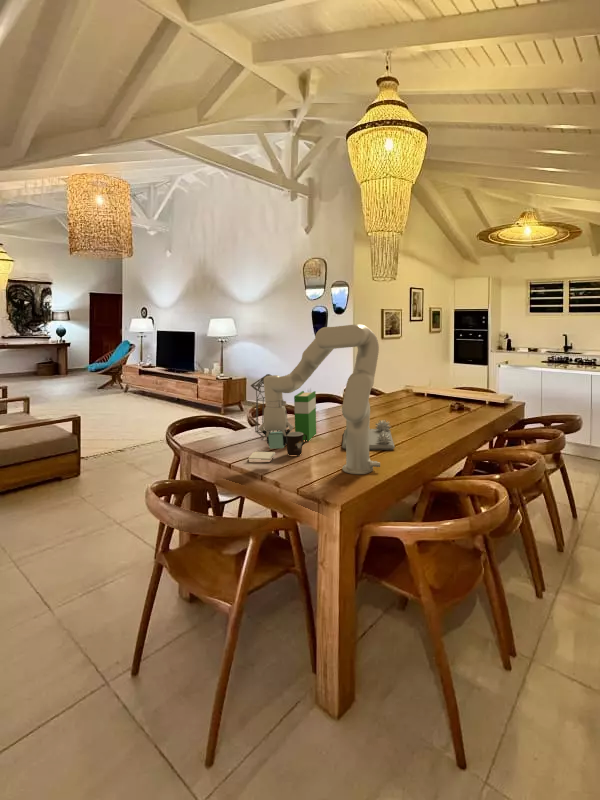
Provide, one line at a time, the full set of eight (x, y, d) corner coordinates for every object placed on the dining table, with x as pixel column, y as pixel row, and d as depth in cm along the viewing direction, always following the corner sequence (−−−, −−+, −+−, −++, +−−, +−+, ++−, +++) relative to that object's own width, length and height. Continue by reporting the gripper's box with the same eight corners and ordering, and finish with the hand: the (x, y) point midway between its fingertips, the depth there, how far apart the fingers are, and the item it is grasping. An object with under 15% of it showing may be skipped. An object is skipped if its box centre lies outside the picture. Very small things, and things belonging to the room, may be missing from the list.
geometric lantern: (251, 441, 240) (248, 375, 235) (263, 435, 254) (260, 372, 249) (279, 442, 235) (276, 375, 230) (289, 436, 249) (287, 372, 244)
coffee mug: (288, 458, 208) (287, 437, 206) (283, 453, 216) (283, 432, 215) (312, 455, 211) (311, 434, 209) (306, 450, 219) (306, 430, 218)
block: (285, 444, 200) (284, 431, 199) (282, 448, 194) (281, 434, 193) (272, 445, 201) (271, 431, 200) (269, 448, 195) (268, 435, 194)
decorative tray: (344, 433, 253) (344, 416, 252) (391, 433, 250) (391, 416, 248) (342, 451, 219) (341, 431, 217) (396, 451, 216) (396, 431, 214)
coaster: (275, 456, 212) (275, 452, 211) (270, 462, 202) (270, 458, 201) (254, 455, 213) (254, 451, 213) (248, 462, 204) (248, 457, 203)
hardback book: (303, 433, 254) (302, 391, 250) (316, 433, 252) (315, 391, 248) (295, 441, 237) (294, 396, 233) (309, 441, 236) (308, 396, 232)
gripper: (295, 402, 197) (298, 442, 200) (257, 403, 200) (260, 443, 203) (292, 405, 190) (295, 446, 192) (252, 406, 193) (256, 447, 195)
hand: (277, 444), depth 198 cm, fingers closed on block, 6 cm apart
